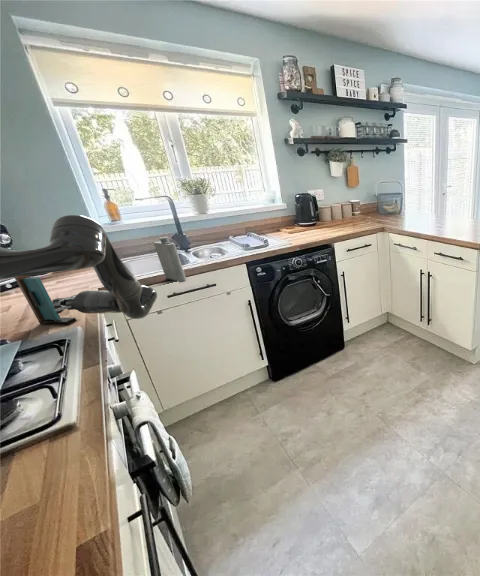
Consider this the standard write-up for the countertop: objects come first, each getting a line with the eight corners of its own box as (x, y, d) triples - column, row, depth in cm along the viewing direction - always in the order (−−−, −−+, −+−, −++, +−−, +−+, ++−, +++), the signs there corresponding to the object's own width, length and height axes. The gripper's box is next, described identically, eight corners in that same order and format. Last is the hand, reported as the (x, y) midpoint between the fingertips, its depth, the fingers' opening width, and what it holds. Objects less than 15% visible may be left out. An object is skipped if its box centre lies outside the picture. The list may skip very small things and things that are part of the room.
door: (53, 321, 105) (31, 280, 100) (40, 320, 106) (18, 280, 101) (63, 316, 108) (43, 276, 103) (51, 316, 109) (30, 276, 104)
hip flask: (164, 278, 148) (150, 237, 141) (173, 275, 151) (160, 235, 144) (180, 282, 139) (166, 239, 132) (190, 279, 142) (176, 237, 135)
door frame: (67, 325, 105) (39, 270, 98) (40, 324, 107) (10, 271, 100) (76, 320, 108) (50, 267, 101) (50, 320, 110) (22, 268, 103)
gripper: (112, 283, 106) (72, 284, 109) (70, 299, 93) (26, 299, 97) (121, 303, 108) (81, 303, 111) (81, 321, 96) (37, 321, 99)
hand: (55, 301), depth 104 cm, fingers closed
